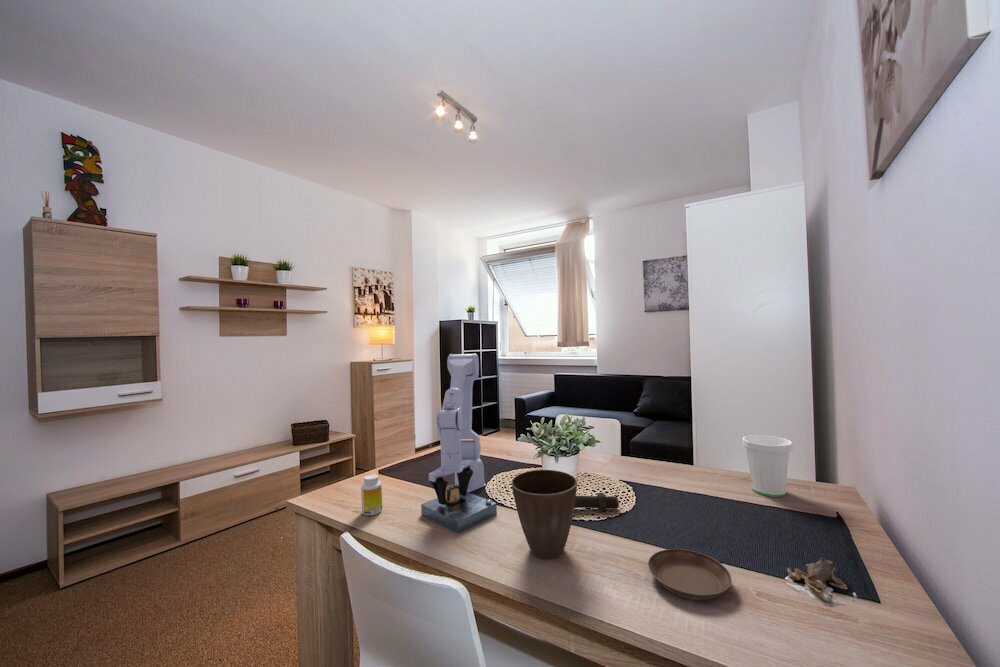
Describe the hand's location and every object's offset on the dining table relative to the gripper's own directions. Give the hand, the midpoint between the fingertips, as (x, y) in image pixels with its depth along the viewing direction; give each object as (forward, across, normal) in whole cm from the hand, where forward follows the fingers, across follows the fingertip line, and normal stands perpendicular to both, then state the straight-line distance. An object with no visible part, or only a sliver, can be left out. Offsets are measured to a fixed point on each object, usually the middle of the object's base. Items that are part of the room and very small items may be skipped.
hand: (452, 499), depth 113 cm
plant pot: (+4, +1, -32) cm, 33 cm away
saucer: (+4, +10, -60) cm, 61 cm away
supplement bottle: (+4, -15, +18) cm, 24 cm away
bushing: (+4, 0, 0) cm, 4 cm away
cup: (+4, +69, -64) cm, 94 cm away
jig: (+4, 0, -2) cm, 4 cm away
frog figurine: (+4, +25, -79) cm, 83 cm away
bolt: (+4, +26, -29) cm, 39 cm away
